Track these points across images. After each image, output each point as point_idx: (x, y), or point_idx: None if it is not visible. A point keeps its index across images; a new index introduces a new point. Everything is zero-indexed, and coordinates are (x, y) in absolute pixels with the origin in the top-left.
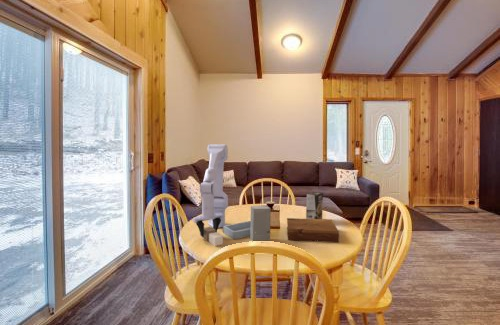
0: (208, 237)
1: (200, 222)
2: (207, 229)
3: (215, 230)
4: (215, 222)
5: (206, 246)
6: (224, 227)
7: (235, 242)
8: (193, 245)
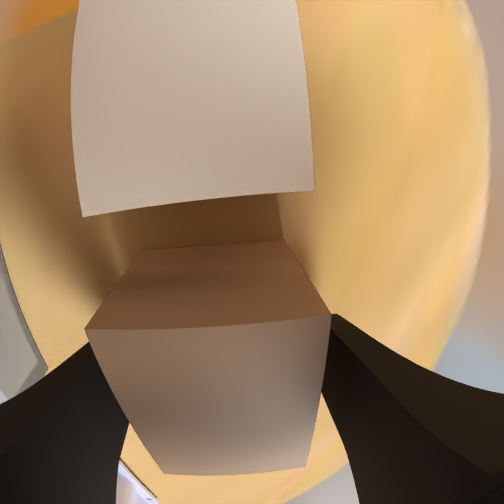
0: (263, 255)
1: (492, 497)
2: (254, 410)
3: (92, 317)
4: (47, 490)
5: (361, 50)
6: (4, 386)
7: (11, 45)
8: (458, 175)
